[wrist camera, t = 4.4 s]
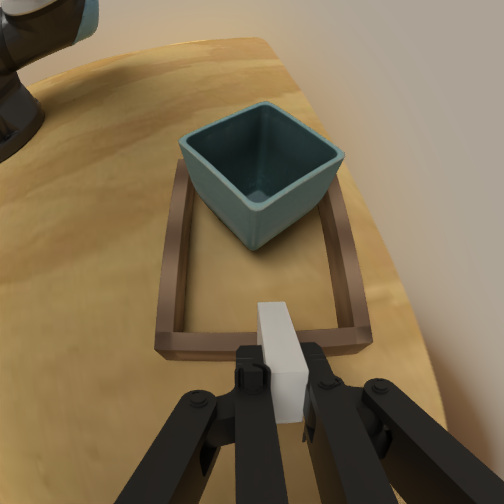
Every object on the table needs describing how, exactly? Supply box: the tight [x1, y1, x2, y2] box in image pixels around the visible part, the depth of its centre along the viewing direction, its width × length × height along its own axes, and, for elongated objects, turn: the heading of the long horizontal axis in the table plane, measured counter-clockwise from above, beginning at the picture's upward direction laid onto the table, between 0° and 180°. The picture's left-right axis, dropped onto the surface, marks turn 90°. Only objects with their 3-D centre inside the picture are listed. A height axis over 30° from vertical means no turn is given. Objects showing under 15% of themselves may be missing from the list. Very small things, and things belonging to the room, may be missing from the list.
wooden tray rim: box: [154, 159, 373, 361], centre depth 25 cm, size 17×14×4 cm
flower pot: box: [178, 101, 345, 250], centre depth 25 cm, size 9×9×9 cm
